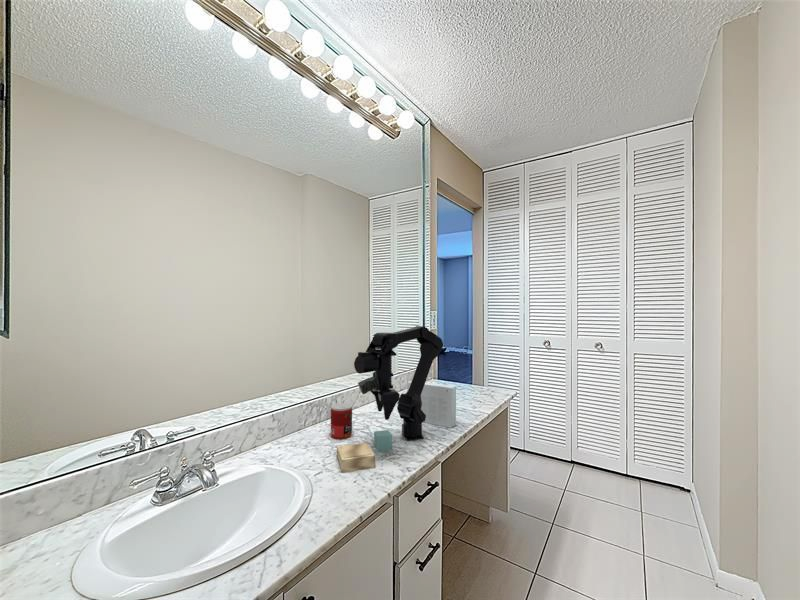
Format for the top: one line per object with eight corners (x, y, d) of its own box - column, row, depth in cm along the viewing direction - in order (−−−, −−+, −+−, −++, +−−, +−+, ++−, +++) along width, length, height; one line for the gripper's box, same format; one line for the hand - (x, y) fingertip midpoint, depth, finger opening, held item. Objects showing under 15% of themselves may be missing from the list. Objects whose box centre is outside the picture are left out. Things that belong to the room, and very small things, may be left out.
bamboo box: (367, 454, 110) (367, 441, 110) (375, 468, 100) (375, 454, 100) (336, 459, 106) (336, 445, 106) (341, 473, 97) (341, 459, 97)
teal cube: (387, 444, 117) (388, 429, 118) (392, 450, 113) (392, 435, 113) (374, 445, 116) (374, 431, 116) (377, 451, 111) (377, 436, 111)
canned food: (347, 440, 120) (348, 409, 120) (327, 438, 122) (327, 408, 122) (354, 432, 128) (355, 403, 128) (335, 431, 129) (335, 402, 130)
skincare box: (456, 424, 137) (456, 385, 137) (451, 428, 132) (451, 388, 133) (412, 415, 148) (412, 379, 149) (405, 419, 144) (406, 381, 144)
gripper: (355, 366, 121) (354, 409, 121) (366, 376, 103) (365, 427, 103) (384, 364, 125) (384, 406, 124) (400, 374, 107) (400, 423, 107)
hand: (383, 415), depth 115 cm, fingers open, 9 cm apart
